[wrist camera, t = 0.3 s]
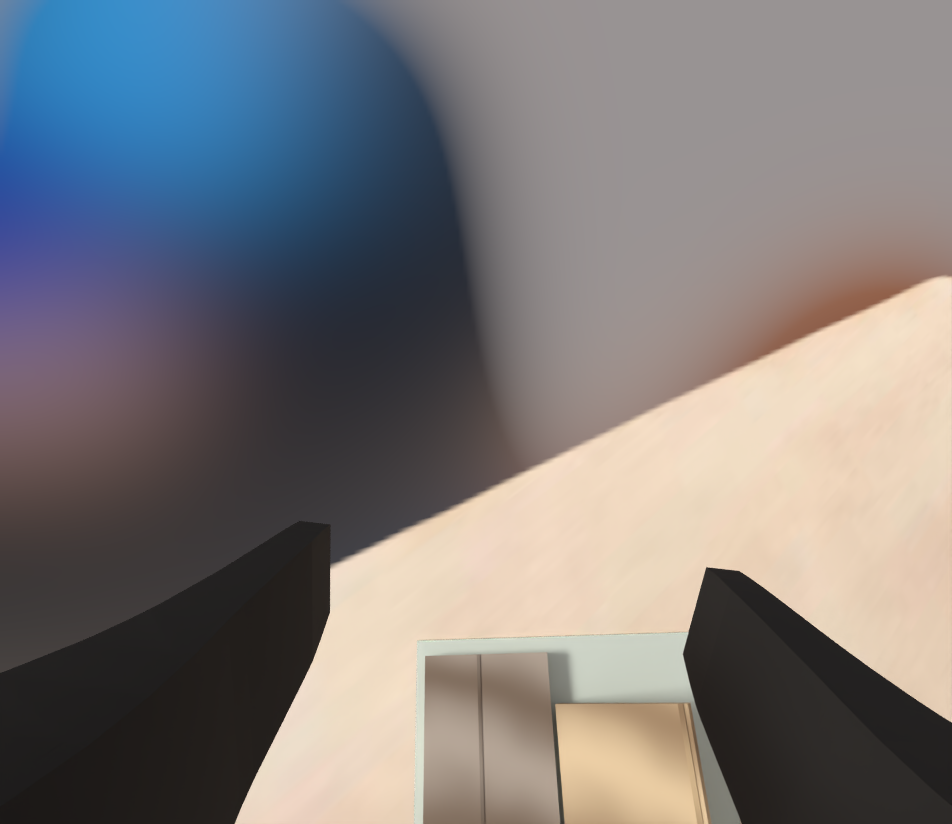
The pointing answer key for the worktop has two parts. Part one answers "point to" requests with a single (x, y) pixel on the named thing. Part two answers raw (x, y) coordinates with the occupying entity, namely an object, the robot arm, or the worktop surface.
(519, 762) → the floor board
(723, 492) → the worktop surface
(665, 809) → the plank
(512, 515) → the worktop surface
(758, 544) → the worktop surface
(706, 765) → the underlay
